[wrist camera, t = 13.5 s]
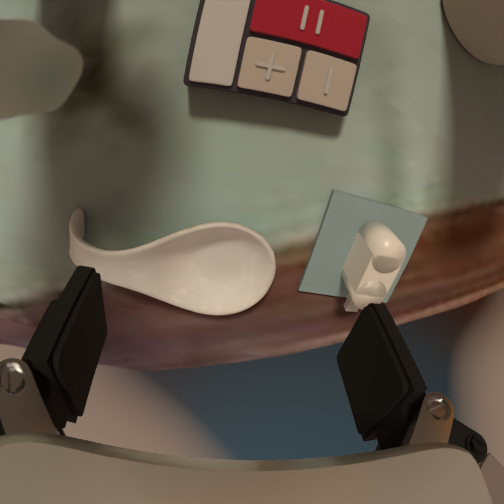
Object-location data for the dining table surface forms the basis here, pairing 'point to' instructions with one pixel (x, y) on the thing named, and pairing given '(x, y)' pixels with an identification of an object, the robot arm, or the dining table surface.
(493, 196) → the dining table surface
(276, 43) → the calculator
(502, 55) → the cylinder vase
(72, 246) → the spoon rest
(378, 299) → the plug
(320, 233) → the pad
